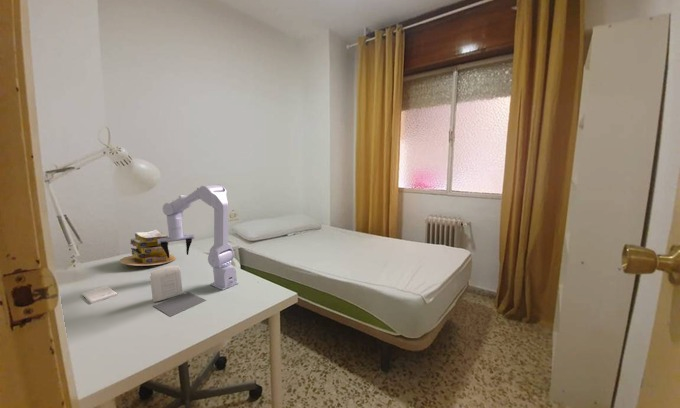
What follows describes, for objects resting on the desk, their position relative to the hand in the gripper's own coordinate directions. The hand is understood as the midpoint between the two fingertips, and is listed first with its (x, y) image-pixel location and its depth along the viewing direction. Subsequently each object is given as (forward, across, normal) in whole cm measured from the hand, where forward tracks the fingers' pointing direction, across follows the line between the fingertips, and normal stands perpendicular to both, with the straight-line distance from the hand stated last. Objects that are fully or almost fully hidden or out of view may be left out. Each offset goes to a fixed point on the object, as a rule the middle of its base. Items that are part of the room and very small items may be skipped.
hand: (178, 255), depth 124 cm
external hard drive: (+11, +28, +4) cm, 31 cm away
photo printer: (+10, +4, +22) cm, 24 cm away
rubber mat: (+10, 0, +30) cm, 31 cm away
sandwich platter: (+10, +14, -32) cm, 36 cm away
